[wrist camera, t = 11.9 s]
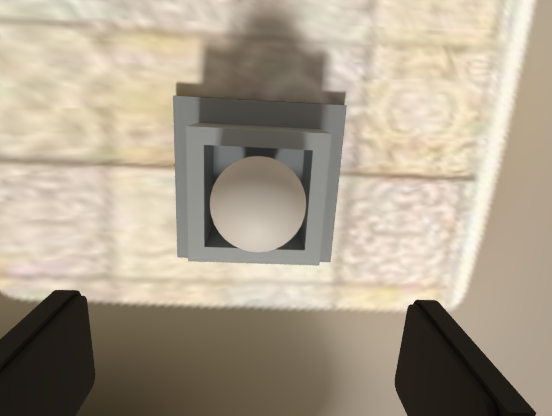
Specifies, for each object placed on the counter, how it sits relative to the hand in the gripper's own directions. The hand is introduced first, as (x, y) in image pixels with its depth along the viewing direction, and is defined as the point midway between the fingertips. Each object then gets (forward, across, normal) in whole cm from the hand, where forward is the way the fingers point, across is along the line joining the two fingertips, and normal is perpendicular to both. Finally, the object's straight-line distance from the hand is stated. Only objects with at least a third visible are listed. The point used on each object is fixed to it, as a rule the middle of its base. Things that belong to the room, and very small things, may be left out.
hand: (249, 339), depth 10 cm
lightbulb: (+21, 0, 0) cm, 21 cm away
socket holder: (+22, 0, 0) cm, 22 cm away
